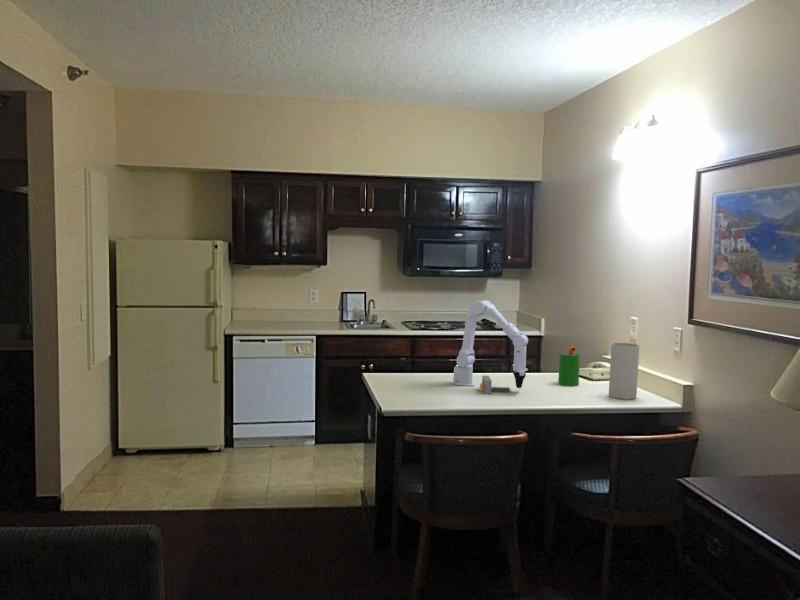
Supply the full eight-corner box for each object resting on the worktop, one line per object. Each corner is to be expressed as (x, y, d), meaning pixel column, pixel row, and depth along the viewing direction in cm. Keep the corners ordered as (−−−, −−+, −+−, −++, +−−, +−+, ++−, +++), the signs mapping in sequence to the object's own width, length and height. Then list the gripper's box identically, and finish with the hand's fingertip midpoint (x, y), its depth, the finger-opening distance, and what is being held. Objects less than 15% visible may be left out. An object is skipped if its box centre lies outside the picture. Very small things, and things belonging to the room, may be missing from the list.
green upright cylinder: (572, 382, 342) (574, 344, 340) (582, 385, 334) (584, 347, 332) (555, 383, 339) (557, 344, 337) (565, 386, 331) (567, 347, 329)
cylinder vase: (604, 393, 317) (607, 342, 315) (629, 394, 318) (632, 342, 316) (614, 399, 305) (617, 346, 303) (640, 400, 306) (643, 347, 303)
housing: (484, 393, 310) (485, 380, 310) (481, 388, 322) (482, 375, 321) (491, 394, 310) (491, 380, 310) (487, 388, 322) (488, 375, 321)
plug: (480, 392, 314) (480, 385, 314) (479, 390, 318) (480, 383, 318) (509, 392, 314) (510, 385, 314) (508, 391, 318) (508, 384, 318)
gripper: (531, 362, 307) (530, 391, 309) (525, 357, 322) (524, 384, 323) (516, 362, 307) (515, 390, 309) (511, 357, 322) (510, 384, 323)
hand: (518, 387), depth 316 cm, fingers closed
